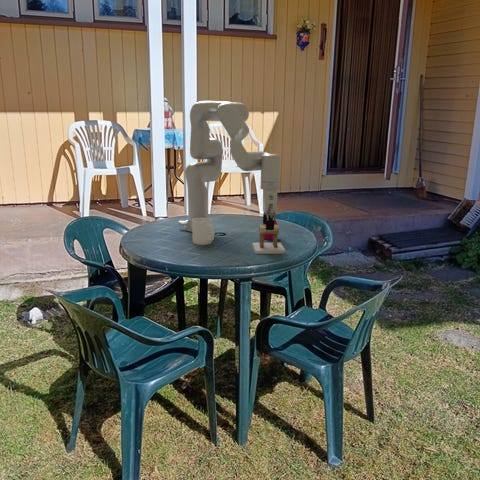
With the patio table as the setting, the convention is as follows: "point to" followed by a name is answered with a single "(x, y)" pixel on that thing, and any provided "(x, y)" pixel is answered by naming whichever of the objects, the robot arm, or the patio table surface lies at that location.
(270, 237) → the pepper mill
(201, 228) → the cup
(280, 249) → the tile
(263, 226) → the pegged wooden block
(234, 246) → the patio table surface
